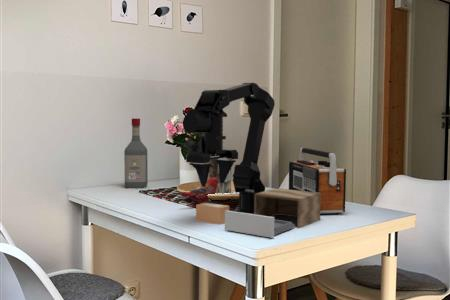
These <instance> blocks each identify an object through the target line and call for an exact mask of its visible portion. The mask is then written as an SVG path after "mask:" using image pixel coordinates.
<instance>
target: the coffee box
mask: <svg viewBox="0 0 450 300" xmlns="http://www.w3.org/2000/svg"><path fill="white" fill-rule="evenodd" d="M218 159H219V158H217V159H210V161H209V164H211V165H210V170H209V174H208V179H207V181H208V180H209V179H211V178H212V177H216V178H217V180H218V182H219V183H218V185H217V188H216V191H215V193H231V194H232V168H231V169H230V171H229V173H228V175H227V177H226V179H225V181H224V183H220V176H219V165H218V163H217V162H216V160H218Z"/></svg>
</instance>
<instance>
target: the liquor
mask: <svg viewBox="0 0 450 300" xmlns="http://www.w3.org/2000/svg"><path fill="white" fill-rule="evenodd" d="M140 126H141V118H131V128H132V129H131V130H132V131H131V134H132V135H131V141H130V142H129V143H128V144H127V145H126V147H125V149H124V152H123V153H124V187H125V189H129V188H141V189H145V188H147V186H148V181H149V180H148V149H147V146H145V144H144V143H143V142H142V141H141V134H140V131H141V129H140ZM144 187H145V188H144Z"/></svg>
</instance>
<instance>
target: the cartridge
mask: <svg viewBox="0 0 450 300" xmlns="http://www.w3.org/2000/svg"><path fill="white" fill-rule="evenodd" d="M195 208H196V209H195V213H196V215H195V218H196V219H195V221H197V222H203V223H208V224H209V223H210V224H215V225H223V224H224V225H225V211H226V210H228V211H230V205H227V204H220V203H219V204H217V203H212V202H201V204H200V203H198V204H196V206H195Z"/></svg>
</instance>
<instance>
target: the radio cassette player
mask: <svg viewBox="0 0 450 300" xmlns="http://www.w3.org/2000/svg"><path fill="white" fill-rule="evenodd" d="M305 154H308V155H313V156H318V157H323V158H328V159H329V162H328V161H327V160H318V161H314V160H313V159H311V160H306V155H305ZM336 157H337V156H336V153H333V152H328V151H323V150H317V149H312V148H308V147H300V150H299V159H298V160H297V161H289V163H288V189H289V190H299V191H308V192H318V193H321V200H320V215H322V214H335V215H336V214H338V215H339V214H342V213H345V212H346V186H347V182H346V181H347V169H346V168H342V167H338V166H337V159H336Z"/></svg>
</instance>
